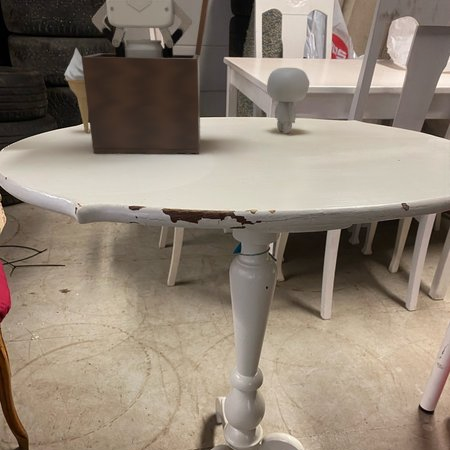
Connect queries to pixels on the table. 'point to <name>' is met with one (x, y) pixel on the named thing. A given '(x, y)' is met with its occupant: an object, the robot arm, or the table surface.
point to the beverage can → (144, 48)
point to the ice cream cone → (78, 85)
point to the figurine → (287, 94)
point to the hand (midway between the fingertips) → (145, 73)
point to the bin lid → (202, 27)
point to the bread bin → (143, 104)
